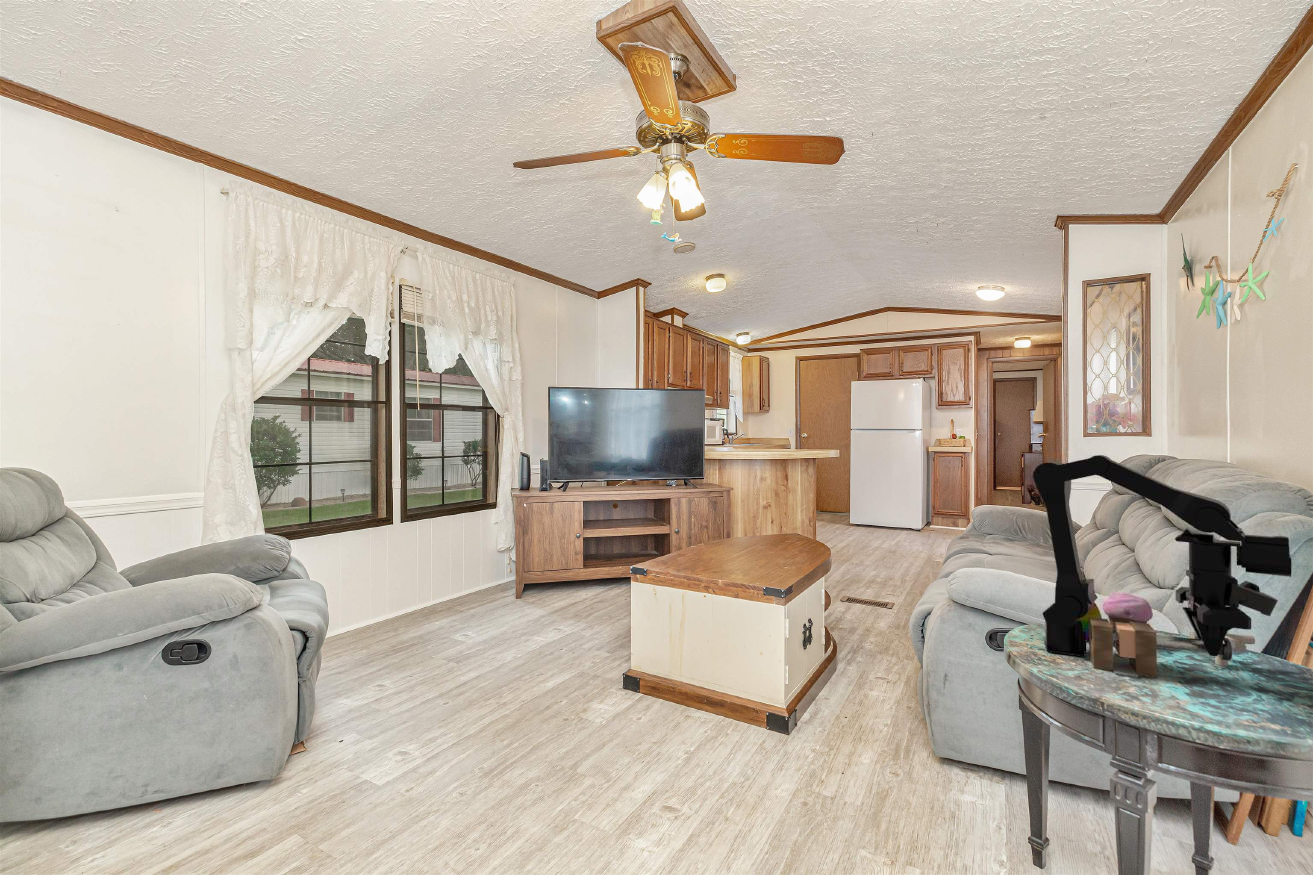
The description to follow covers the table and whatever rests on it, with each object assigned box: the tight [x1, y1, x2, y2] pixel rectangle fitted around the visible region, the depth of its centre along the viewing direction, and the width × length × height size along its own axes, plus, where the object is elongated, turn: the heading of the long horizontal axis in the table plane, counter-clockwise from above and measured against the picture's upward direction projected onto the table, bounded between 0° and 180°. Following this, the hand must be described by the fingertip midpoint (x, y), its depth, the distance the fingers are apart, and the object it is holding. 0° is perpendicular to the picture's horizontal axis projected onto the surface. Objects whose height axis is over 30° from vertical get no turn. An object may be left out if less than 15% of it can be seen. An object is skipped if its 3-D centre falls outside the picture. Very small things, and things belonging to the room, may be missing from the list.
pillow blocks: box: [1088, 617, 1158, 678], centre depth 115 cm, size 10×6×8 cm, turn 61°
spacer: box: [1114, 622, 1136, 659], centre depth 115 cm, size 2×5×5 cm, turn 151°
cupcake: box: [1102, 592, 1154, 629], centre depth 131 cm, size 9×9×10 cm
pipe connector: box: [1188, 631, 1256, 667], centre depth 116 cm, size 10×10×10 cm
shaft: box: [1113, 629, 1233, 662], centre depth 112 cm, size 17×4×4 cm, turn 61°
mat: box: [1112, 656, 1139, 679], centre depth 115 cm, size 3×10×1 cm, turn 151°
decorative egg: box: [1079, 601, 1103, 642], centre depth 133 cm, size 8×8×10 cm
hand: (1210, 653), depth 109 cm, fingers closed on shaft, 2 cm apart
